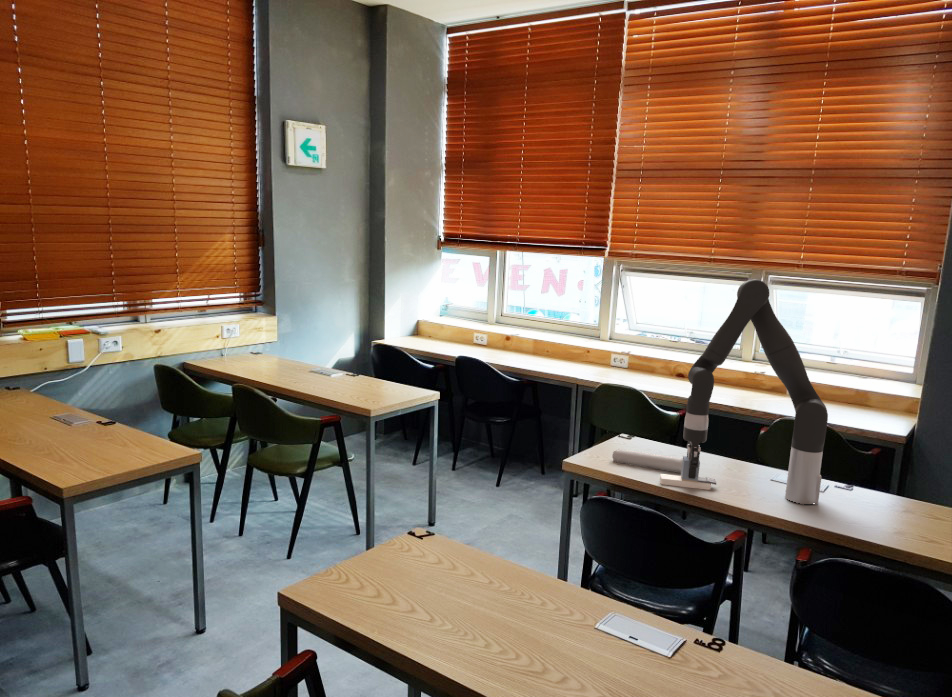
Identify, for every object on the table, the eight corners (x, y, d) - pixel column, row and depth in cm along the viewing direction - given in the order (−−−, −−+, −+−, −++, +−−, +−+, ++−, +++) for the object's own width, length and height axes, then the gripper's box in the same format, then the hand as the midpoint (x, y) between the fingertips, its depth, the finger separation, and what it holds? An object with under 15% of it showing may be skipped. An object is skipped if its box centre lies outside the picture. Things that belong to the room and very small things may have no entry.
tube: (610, 452, 259) (681, 463, 250) (614, 445, 263) (683, 455, 254) (610, 465, 261) (680, 476, 252) (614, 457, 266) (683, 467, 256)
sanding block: (696, 477, 241) (698, 457, 240) (697, 482, 236) (700, 462, 235) (680, 475, 242) (683, 456, 241) (682, 480, 237) (684, 460, 236)
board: (708, 484, 241) (709, 479, 240) (710, 489, 236) (710, 484, 236) (659, 479, 244) (660, 473, 244) (660, 484, 239) (661, 478, 239)
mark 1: (705, 479, 240) (705, 477, 240) (706, 483, 236) (707, 481, 236) (696, 478, 241) (696, 476, 241) (697, 482, 237) (697, 480, 237)
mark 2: (714, 480, 240) (715, 479, 240) (716, 484, 236) (716, 483, 236) (705, 478, 240) (705, 477, 240) (706, 482, 236) (707, 480, 236)
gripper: (710, 433, 229) (704, 483, 231) (705, 422, 243) (700, 470, 245) (686, 430, 230) (681, 481, 233) (682, 420, 244) (677, 467, 247)
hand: (690, 475), depth 239 cm, fingers closed on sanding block, 5 cm apart
